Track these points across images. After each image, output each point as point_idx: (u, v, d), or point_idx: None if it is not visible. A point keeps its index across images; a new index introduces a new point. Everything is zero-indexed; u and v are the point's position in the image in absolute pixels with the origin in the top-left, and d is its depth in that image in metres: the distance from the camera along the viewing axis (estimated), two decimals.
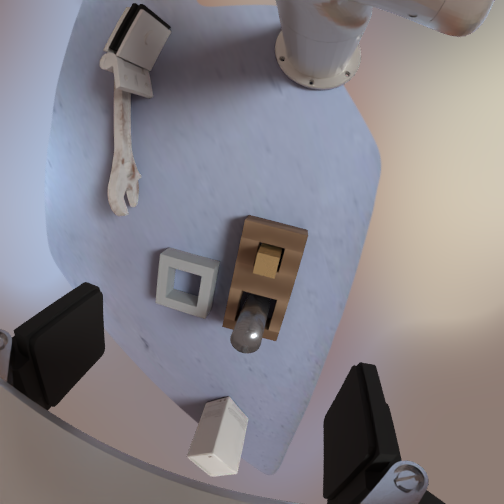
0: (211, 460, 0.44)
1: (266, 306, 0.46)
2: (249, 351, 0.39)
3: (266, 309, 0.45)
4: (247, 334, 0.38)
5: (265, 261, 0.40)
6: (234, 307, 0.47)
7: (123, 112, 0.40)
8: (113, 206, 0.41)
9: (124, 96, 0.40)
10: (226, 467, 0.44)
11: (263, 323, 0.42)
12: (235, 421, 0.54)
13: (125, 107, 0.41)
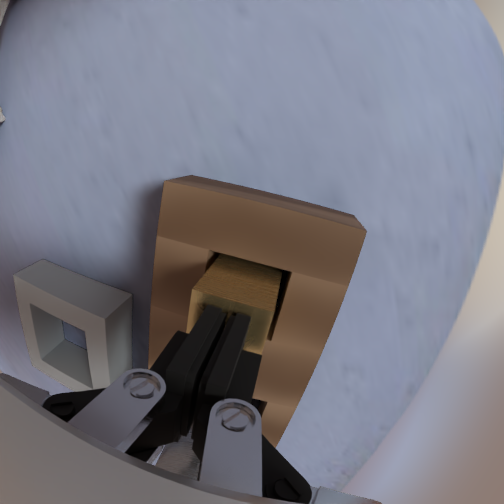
0: None
1: None
2: None
3: None
4: None
5: None
6: None
7: None
8: None
9: None
10: None
11: None
12: None
13: None
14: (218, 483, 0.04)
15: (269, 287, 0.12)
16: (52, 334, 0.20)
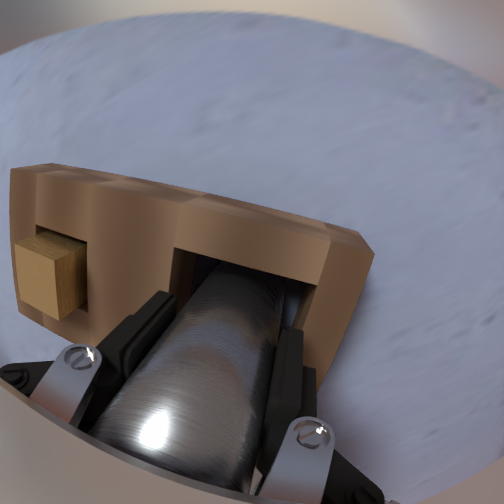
0: None
1: (203, 288, 0.12)
2: None
3: (202, 294, 0.11)
4: None
5: (28, 283, 0.11)
6: None
7: None
8: None
9: None
10: None
11: (161, 355, 0.07)
12: None
13: None
14: (311, 502, 0.04)
15: None
16: None
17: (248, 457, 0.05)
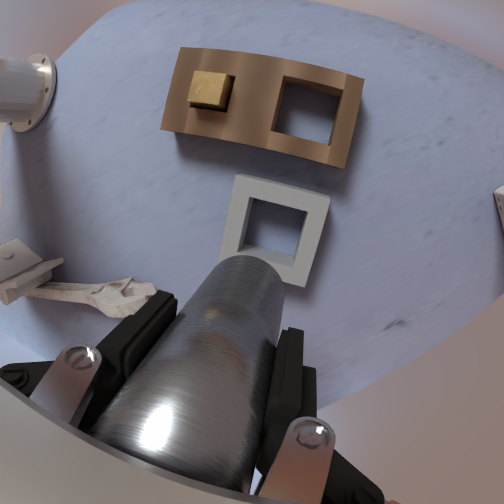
0: None
1: (203, 288, 0.12)
2: None
3: (202, 294, 0.11)
4: None
5: (200, 89, 0.24)
6: (303, 143, 0.26)
7: (61, 289, 0.36)
8: (126, 312, 0.29)
9: (52, 287, 0.37)
10: None
11: (161, 355, 0.07)
12: None
13: (61, 286, 0.37)
14: (311, 502, 0.04)
15: None
16: (279, 257, 0.31)
17: (248, 457, 0.05)
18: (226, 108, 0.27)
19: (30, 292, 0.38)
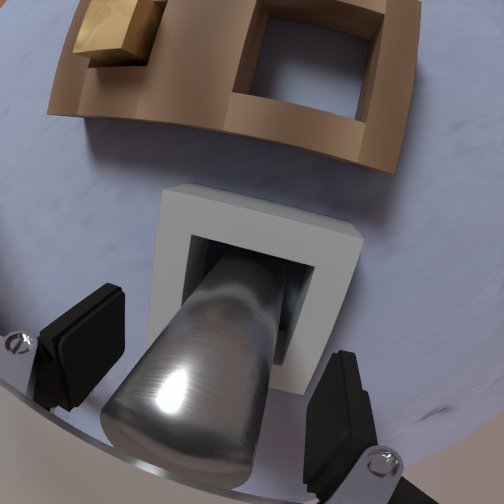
0: None
1: (215, 269, 0.14)
2: (235, 455, 0.06)
3: (215, 273, 0.13)
4: (130, 436, 0.06)
5: (94, 27, 0.09)
6: (306, 116, 0.11)
7: None
8: None
9: None
10: None
11: (185, 317, 0.09)
12: None
13: None
14: None
15: None
16: None
17: (259, 397, 0.07)
18: None
19: None
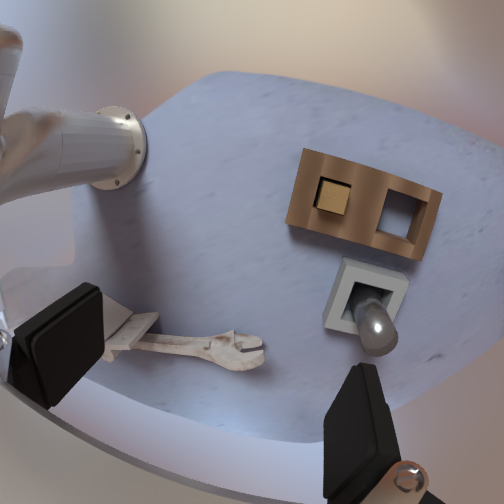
0: None
1: (361, 293, 0.36)
2: (395, 337, 0.28)
3: (364, 294, 0.35)
4: (371, 339, 0.29)
5: (328, 199, 0.32)
6: (397, 243, 0.34)
7: (161, 342, 0.44)
8: (249, 366, 0.37)
9: (147, 339, 0.45)
10: None
11: (371, 309, 0.32)
12: None
13: (158, 339, 0.45)
14: None
15: (322, 183, 0.33)
16: None
17: None
18: None
19: None
